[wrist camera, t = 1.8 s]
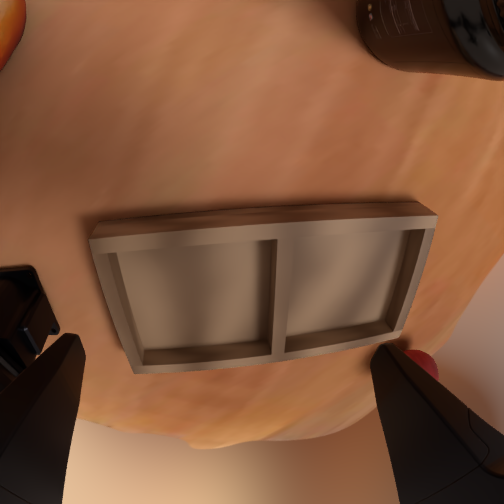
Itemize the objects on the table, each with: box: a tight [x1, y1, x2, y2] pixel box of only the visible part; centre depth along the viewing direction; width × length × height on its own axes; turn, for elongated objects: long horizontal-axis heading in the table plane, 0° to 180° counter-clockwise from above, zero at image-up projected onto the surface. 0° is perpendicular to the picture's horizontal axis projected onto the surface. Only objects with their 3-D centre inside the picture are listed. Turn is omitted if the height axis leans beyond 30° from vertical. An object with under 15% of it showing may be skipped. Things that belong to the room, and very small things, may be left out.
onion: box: [403, 350, 439, 381], centre depth 27 cm, size 6×6×8 cm
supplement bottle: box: [356, 0, 504, 81], centre depth 9 cm, size 7×7×12 cm
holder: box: [88, 202, 438, 374], centre depth 22 cm, size 23×12×2 cm, turn 90°
